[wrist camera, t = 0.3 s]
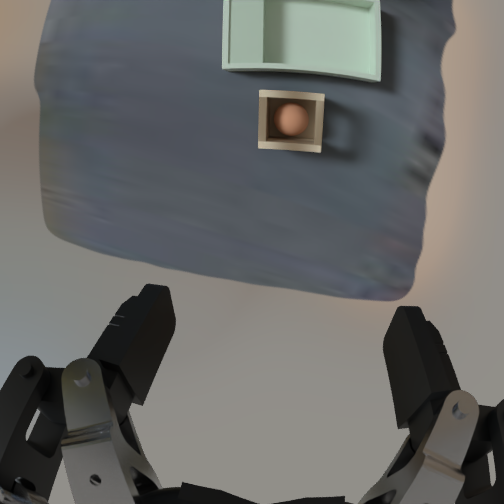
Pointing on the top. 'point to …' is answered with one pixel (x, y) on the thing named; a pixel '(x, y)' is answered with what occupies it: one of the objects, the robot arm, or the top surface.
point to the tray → (303, 37)
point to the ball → (291, 119)
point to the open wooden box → (276, 140)
